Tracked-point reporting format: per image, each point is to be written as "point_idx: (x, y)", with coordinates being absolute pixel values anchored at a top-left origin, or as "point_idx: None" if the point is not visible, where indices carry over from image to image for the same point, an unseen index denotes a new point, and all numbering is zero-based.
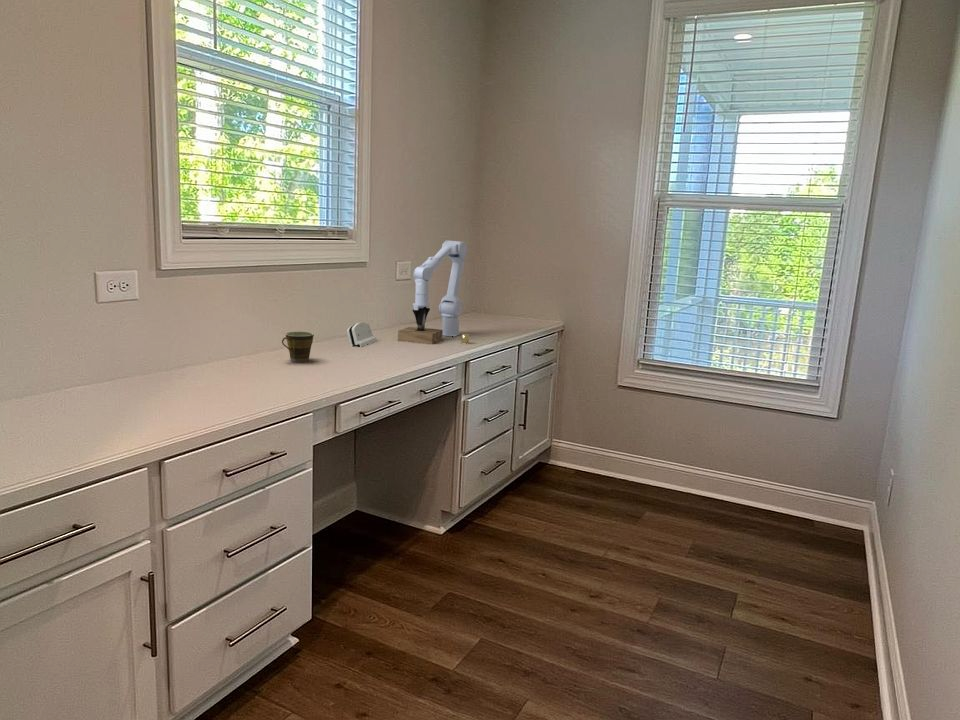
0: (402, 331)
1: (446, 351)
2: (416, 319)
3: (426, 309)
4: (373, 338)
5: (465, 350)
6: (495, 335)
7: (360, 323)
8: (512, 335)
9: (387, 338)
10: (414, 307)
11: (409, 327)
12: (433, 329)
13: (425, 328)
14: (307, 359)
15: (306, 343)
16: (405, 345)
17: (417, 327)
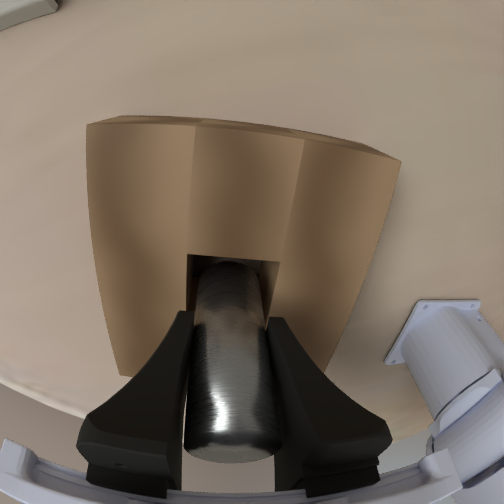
0: (87, 171)
1: (50, 380)
2: (160, 350)
3: (279, 489)
4: (11, 11)
5: None
6: (418, 416)
7: None
8: (416, 432)
9: (196, 9)
10: (3, 469)
11: (351, 168)
12: (308, 352)
13: (337, 302)
14: None
15: None
16: (22, 220)
17: (216, 288)
